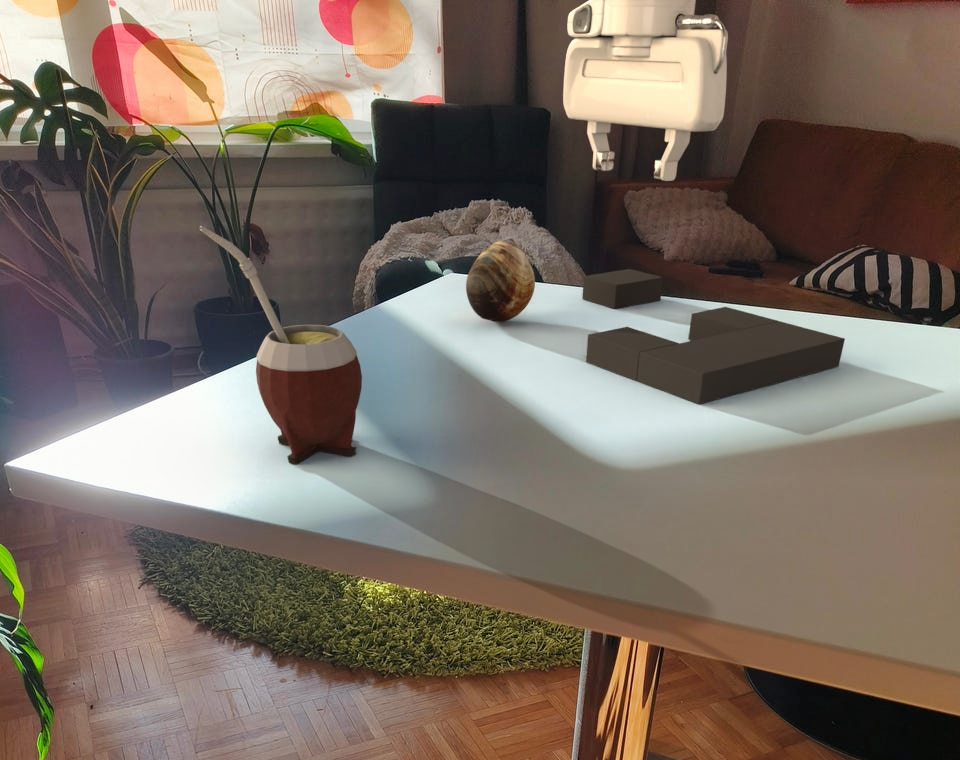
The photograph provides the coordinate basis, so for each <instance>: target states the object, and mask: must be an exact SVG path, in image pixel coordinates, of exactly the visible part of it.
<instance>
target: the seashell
mask: <svg viewBox="0 0 960 760" xmlns="http://www.w3.org/2000/svg"><path fill="white" fill-rule="evenodd" d="M535 288H536V277H535V272H534V269H533V267H532V265H531V263H530V262H529V260H528V258H527V256H526V254H525V253H524V251H523V250H522V248H521V246H520V245H519V243H517V241H516V240H515V239H514V238H513V237H511V236H507V237H504V238H501V239H499V240H497V241H496V242H494V243H493V244H491V245H490V246H488V247H487V248H486V249H485V250H484V251H482V252H481V253H480V255H479V256H478V257H477V258H476V259H475V261H474V262H473V264H472V266H471V267H470V269H469V272H468V274H467V276H466V281H465V292H466V297H467V300H468V303H469V305H470V307H471V309H472V310H473V312H474V314H476V315H477V316H478V317H479V318H481V319H483V320H487V321H491V322H493V323H506V322H509V321H510V320H513V319H514V318H516V317H517V316H519V315H520V314H521V313H522V312H523V311H524V310H525V309H526V307H527V306H528V305H529V303H530V301H531V300H532V298H533V295H534V292H535Z"/></svg>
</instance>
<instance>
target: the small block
mask: <svg viewBox="0 0 960 760" xmlns="http://www.w3.org/2000/svg"><path fill="white" fill-rule="evenodd" d="M663 280H664V277H663V276H659V275H656V274H652V273H647V272H643V271H639V270H635V269H632V268H626V269H620V270H614V271H609V272H602V273H596V274H589V275H583V284H582V300H584V301H587V302H590V303H594V304H596V305H600V306H604V307H607V308H610V309H614V310H616V309H622V308H627V307H633V306H637V305H643V304H648V303H653V302H659V301H661V300H662V299H661V298H662V289H663Z"/></svg>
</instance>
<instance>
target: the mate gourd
mask: <svg viewBox="0 0 960 760" xmlns="http://www.w3.org/2000/svg"><path fill="white" fill-rule="evenodd" d="M199 230H200V232H202V233H203V234H204V235H206V236H207V237H209V238H210V239H211V240H212V241H214V242H215V243H216V244H218V245H219V246H221V247H222V248H223V249H224V250H226V251H227V252H228V253H229V254H230V255H231V256H232V257H233V258H234V259H236V260H237V262H238V263H239V268H240V270H241V271H242V273H243V275H244V277H245V278H246V279H248V280H249V282H250V284H251V287H252V288H253V290H254V292H255V295H256V296H257V298H258V301H259V303H260V305H261V307H262V309H263V311H264V313H265V315H266V317H267V320H268V321H269V323H270V325H271V328H272V329H273V330H272V331H270V332H269V333H267V334H266V336H265V338H264V339H263V341H262V343H261V344H260V347H259V349H258V351H257V353H256V365H255V375H256V377H255V378H256V383H257V389H258V391H259V394H260V397H261V400H262V403H263V405H264V406H265V409H266V411H267V412H268V415H269V416H270V418H271V420H272V421H273V423H274V424H275V425H276V426H277V428H278V429H279V430H280V433H281V434H280V435H278V436H277V441H278V444H279V445H284V446H289V448H290V451H291V453H290V454H289V455H287V461H288V463H289V464H293V465H298V464H300V463H302V462H303V461H305V460H308V459H309V458H310V457H312V456H314V455H315V454H317V453H327V454H332V455H337V456H343V457H349V458H350V457H354V456H355V455H357V451H356V450H357V447H356V446H352V445H353V436H354V432H355V426H356V421H357V419H356V418H357V409H358V406H359V402H360V398H361V393H362V389H363V388H362V386H363V375H362V368H361V363H360V360H359V357H358V352H357V350H356V348H355V346H354V345H353V343H352V342H351V340H350V339H349V338H348V336H347V335H346V334H345V333H344V332H343V331H342V330H341V329H340V328H337V327H334V326H330V325H323V324H298V325H290V326H289V325H288V326H284V327H282V325H281V323H280V321H279V319H278V317H277V315H276V313H275V310H274V308H273V306H272V304H271V302H270V300H269V298H268V296H267V294H266V291H265V289H264V287H263V286H262V283H261V281H260V279H259V275H258V270H257V268H256V266H255V265H254V263H253V261H252V260H251V258H250V257H247V256H246V255H245V253H244V252H243V251H242V250H241V249H239V248H238V246H236V245H235V244H234V243H233V242H231V241H229V240H228V239H226V238H225V237H222V236H220V235H219V234H217V233H215V232H213V231H212V230H211V229H209V228H206V227H204V226H203V225H200V226H199Z"/></svg>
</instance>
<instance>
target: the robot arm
mask: <svg viewBox="0 0 960 760" xmlns="http://www.w3.org/2000/svg"><path fill="white" fill-rule="evenodd" d="M696 1H697V0H587V1H586V2H584V3H582V4H581V5H579V6H578V7H576V8H574V9H573V10H571V11H570V12H569V14H568V16H567V25H566V26H567V28H566V30H567V34H568V36H569V37H571V38H573V39H572V40H571V42H570V43H569V45H568V47H567V51H566V55H565V63H564V74H563V92H562V96H563V97H562V102H563V103H562V104H563V108H564V111H565V114H566V116H567V118H568V119H569V120H577V121H587V129H586V134H587V137H588V140H589V143H590V147H591V151H592V152H593V155H592V169H593V170H594V171H600V172H610V171H612V170H613V169H614V165H615V163H614V160H615V151H611V150H610V145H609V144H610V143H609V139H608V134H610V133H611V127H612V124H616V125H624V126H634V127H635V126H636V127H645V128H655V129H663V130H664V129H665V133H664V142H665V143H668V144H667V146H666V147H665V150H664V152H663V155H662V157H661V159H655V161H654V167H653V168H654V171H653V178H654V180H657V181H661V182H671V181H675V179H676V178H677V170H678V163H679V161H680V159H681V158H682V157H683V154H684V152H685V150H687V147H688V146H689V144H690V140H691V133H692V132H695V133H696V132H713V131H715V130H716V129H718V127H719V125H720V124H721V123H722V121H723V119H724V115H725V106H726V96H727V77H728V76H727V73H728V72H727V69H728V68H727V66H728V62H727V61H728V60H727V48H728V43H729V42H728V41H729V34H728V33H729V32H728V30H727V29H726V27H725V24H724V23H723V22H722V21H721V20H720V18H719V16H718V15H716V14H711V13H710V14H709V13H708V14H704V15H697V14H695V10H696ZM717 27H718V29H716V28H717Z"/></svg>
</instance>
